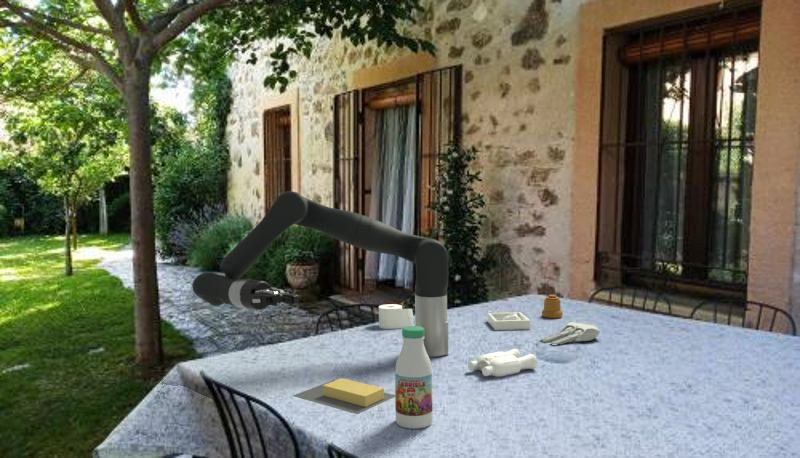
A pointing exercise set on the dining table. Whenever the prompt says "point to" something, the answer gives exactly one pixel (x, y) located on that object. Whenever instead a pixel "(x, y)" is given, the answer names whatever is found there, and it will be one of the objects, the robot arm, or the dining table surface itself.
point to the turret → (573, 334)
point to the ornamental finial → (552, 307)
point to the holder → (508, 321)
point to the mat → (317, 396)
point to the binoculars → (503, 363)
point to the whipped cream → (512, 317)
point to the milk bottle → (413, 381)
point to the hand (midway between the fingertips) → (296, 299)
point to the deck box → (353, 392)
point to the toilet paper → (394, 316)
